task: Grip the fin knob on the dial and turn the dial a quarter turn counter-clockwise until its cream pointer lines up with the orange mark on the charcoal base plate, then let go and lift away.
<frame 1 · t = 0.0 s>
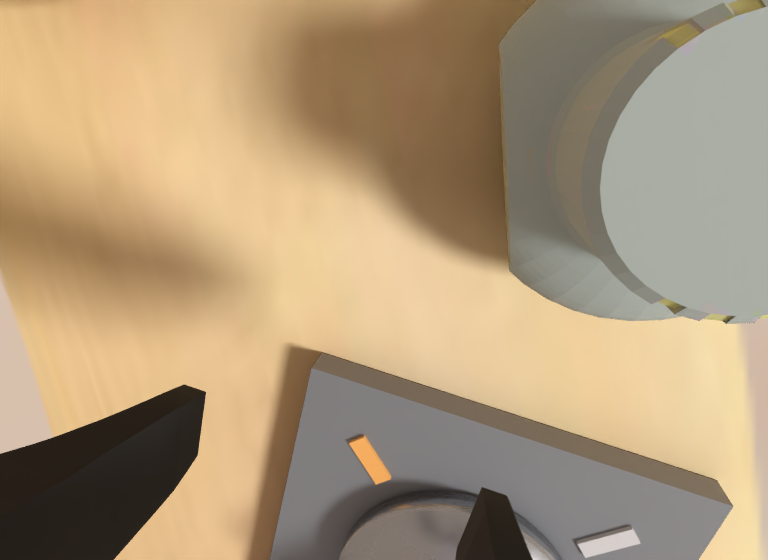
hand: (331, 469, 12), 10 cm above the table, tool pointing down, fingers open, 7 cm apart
air freshener: (617, 144, 18), on the table
dial base: (453, 556, 25), on the table
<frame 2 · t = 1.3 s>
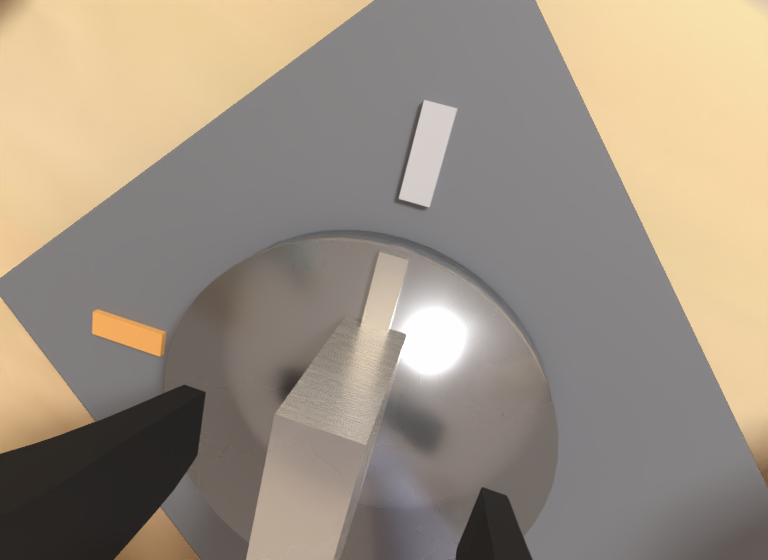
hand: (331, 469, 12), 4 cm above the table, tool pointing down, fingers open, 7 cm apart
dial: (329, 476, 12), point 4 cm above the table, hinge at 0.0°
dial base: (370, 383, 16), on the table
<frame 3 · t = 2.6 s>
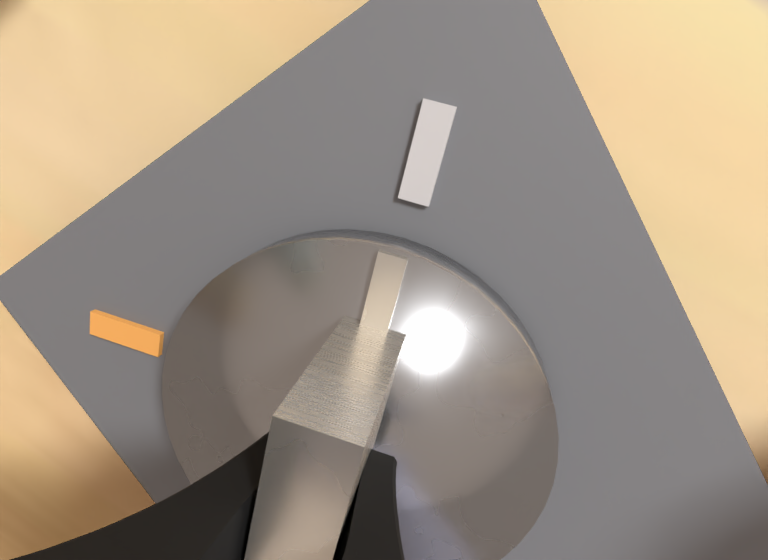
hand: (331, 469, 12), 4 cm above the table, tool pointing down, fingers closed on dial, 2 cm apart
dial: (327, 477, 12), point 5 cm above the table, hinge at 0.0°, touching gripper
dial base: (369, 383, 16), on the table
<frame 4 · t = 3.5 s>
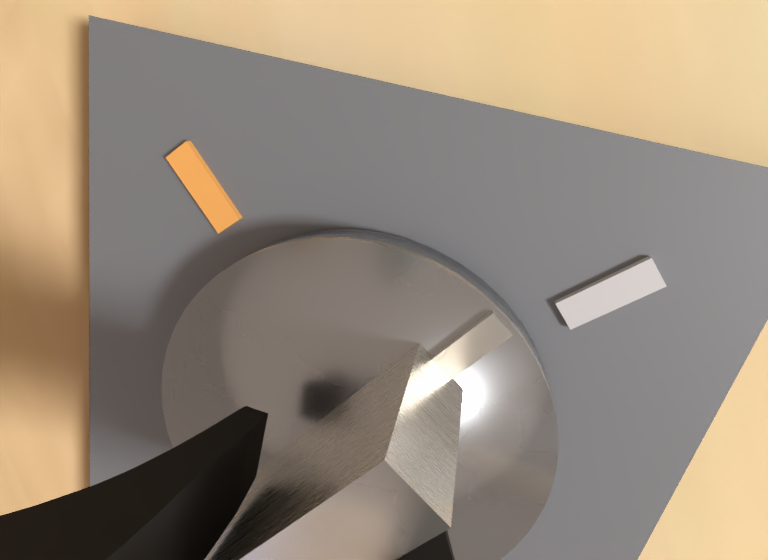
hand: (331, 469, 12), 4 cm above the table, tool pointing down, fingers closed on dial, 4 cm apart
dial: (327, 477, 12), point 5 cm above the table, hinge at 11.2°, touching gripper
dial base: (369, 383, 16), on the table
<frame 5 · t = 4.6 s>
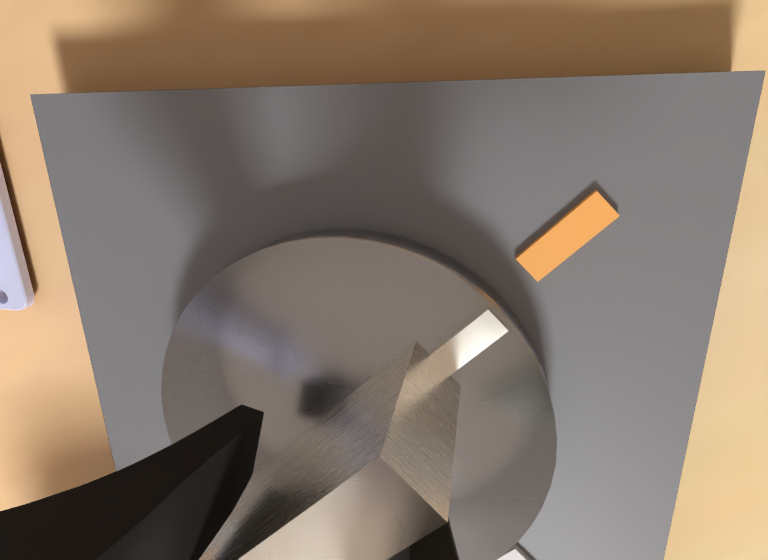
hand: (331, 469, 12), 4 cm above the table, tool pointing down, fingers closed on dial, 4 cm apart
dial: (326, 476, 12), point 5 cm above the table, hinge at 89.1°, touching gripper
dial base: (368, 382, 16), on the table
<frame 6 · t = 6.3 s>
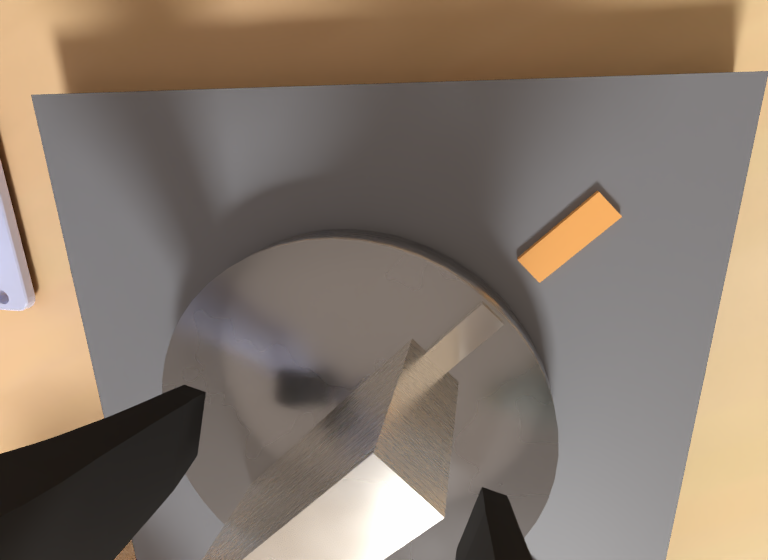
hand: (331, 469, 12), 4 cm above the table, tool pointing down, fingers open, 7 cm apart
dial: (327, 478, 12), point 5 cm above the table, hinge at 91.6°
dial base: (369, 383, 16), on the table
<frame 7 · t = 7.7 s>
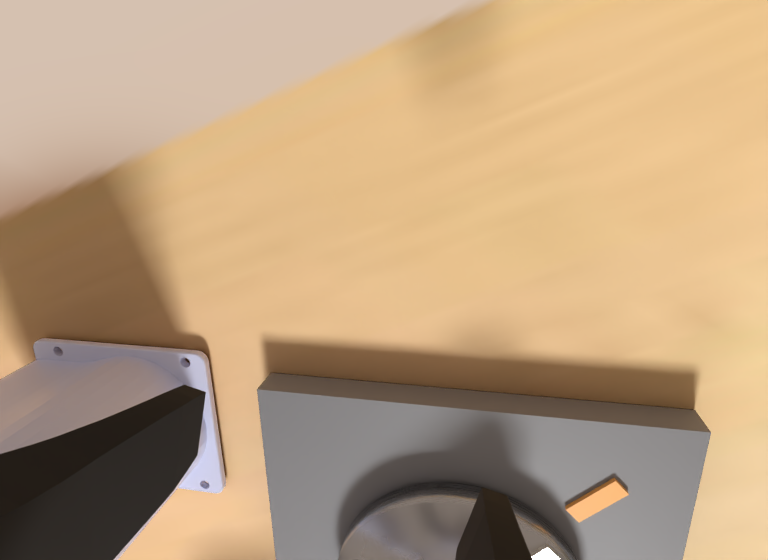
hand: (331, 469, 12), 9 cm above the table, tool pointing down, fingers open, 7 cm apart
dial base: (459, 551, 24), on the table
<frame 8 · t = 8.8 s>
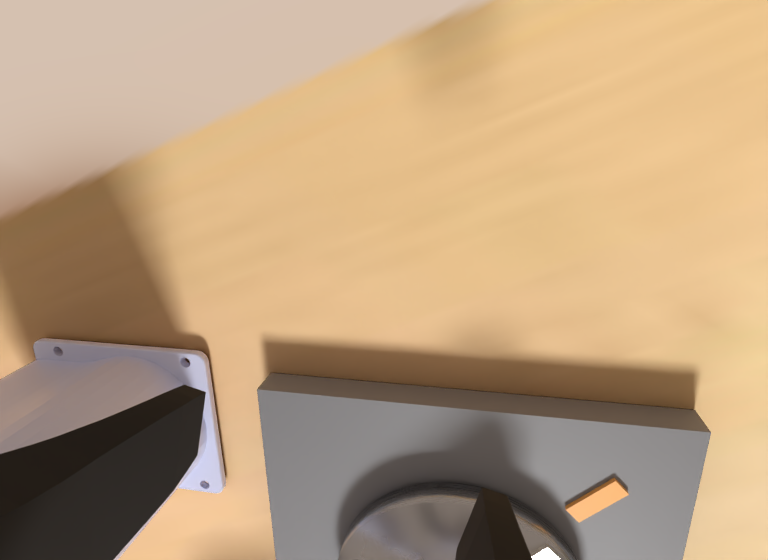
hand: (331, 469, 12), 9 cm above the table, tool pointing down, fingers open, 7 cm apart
dial base: (459, 551, 24), on the table
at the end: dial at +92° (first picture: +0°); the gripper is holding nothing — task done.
